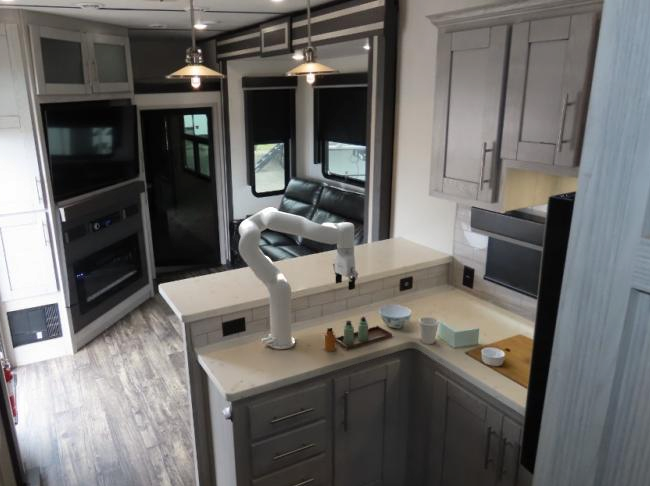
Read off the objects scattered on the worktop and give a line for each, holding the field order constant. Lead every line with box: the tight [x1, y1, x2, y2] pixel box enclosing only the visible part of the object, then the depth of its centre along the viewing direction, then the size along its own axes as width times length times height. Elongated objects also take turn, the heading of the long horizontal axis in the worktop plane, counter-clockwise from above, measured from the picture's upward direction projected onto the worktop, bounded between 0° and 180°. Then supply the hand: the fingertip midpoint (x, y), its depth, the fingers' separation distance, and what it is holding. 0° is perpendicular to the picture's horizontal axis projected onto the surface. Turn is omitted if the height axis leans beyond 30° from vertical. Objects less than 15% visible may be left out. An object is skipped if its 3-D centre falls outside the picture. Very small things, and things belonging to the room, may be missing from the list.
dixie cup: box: [418, 316, 440, 345], centre depth 228 cm, size 8×8×10 cm
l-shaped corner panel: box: [438, 320, 480, 349], centre depth 228 cm, size 12×12×8 cm
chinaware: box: [378, 304, 412, 330], centre depth 245 cm, size 15×15×8 cm
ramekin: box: [480, 347, 506, 367], centre depth 209 cm, size 9×9×4 cm
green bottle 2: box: [357, 316, 369, 341], centre depth 232 cm, size 5×5×10 cm
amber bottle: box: [324, 326, 336, 352], centre depth 225 cm, size 5×5×10 cm
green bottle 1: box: [342, 320, 355, 345], centre depth 229 cm, size 5×5×10 cm
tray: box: [335, 325, 393, 351], centre depth 233 cm, size 25×10×2 cm, turn 116°
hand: (345, 285), depth 232 cm, fingers open, 9 cm apart
